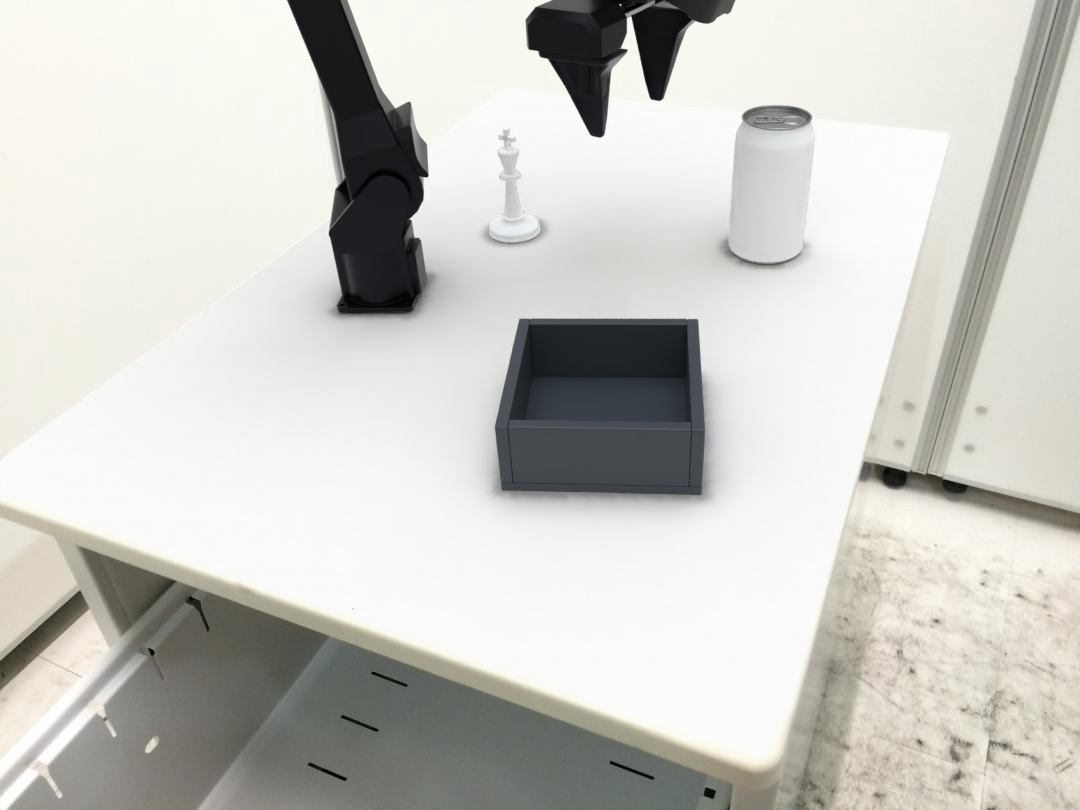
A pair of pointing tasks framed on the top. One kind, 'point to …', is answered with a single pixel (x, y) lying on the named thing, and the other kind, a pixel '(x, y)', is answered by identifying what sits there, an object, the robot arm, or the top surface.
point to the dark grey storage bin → (603, 407)
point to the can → (771, 183)
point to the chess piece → (512, 199)
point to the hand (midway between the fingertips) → (628, 117)
